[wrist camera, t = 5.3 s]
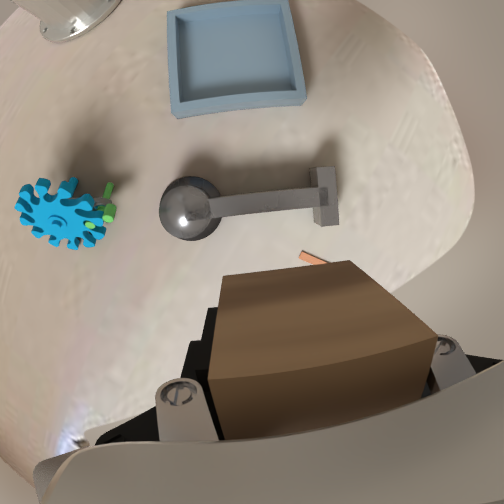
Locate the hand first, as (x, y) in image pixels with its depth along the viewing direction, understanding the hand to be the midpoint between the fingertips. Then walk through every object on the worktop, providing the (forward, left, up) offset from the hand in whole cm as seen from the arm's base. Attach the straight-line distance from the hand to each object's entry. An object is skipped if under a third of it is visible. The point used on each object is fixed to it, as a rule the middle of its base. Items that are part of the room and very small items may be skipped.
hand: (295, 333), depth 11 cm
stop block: (0, 0, -1) cm, 1 cm away
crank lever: (-4, -1, -16) cm, 17 cm away
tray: (-19, -1, -17) cm, 25 cm away
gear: (-6, -18, -17) cm, 25 cm away
